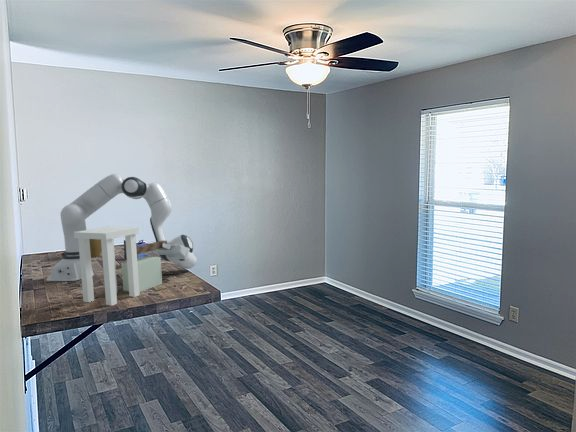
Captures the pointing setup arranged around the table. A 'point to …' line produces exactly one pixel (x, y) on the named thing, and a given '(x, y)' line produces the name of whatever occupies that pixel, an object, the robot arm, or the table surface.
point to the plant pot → (95, 247)
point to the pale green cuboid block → (144, 273)
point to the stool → (108, 261)
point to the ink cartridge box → (142, 253)
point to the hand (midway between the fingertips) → (158, 244)
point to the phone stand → (125, 250)
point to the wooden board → (149, 247)
